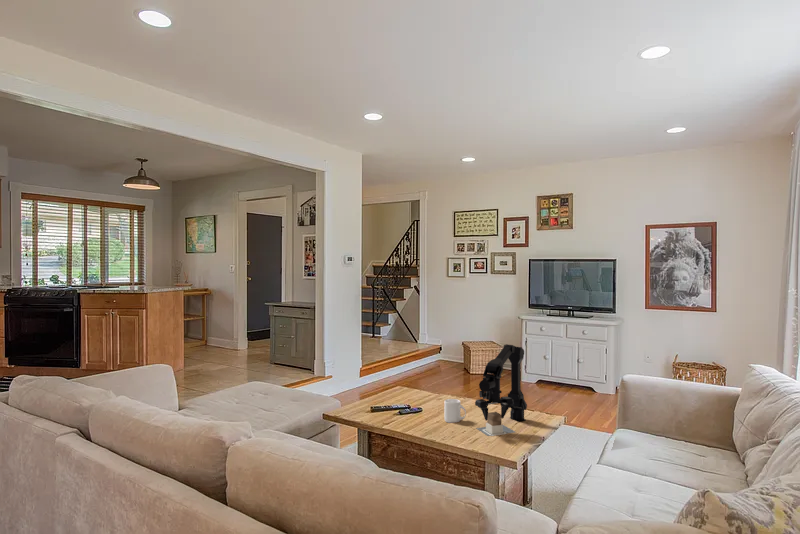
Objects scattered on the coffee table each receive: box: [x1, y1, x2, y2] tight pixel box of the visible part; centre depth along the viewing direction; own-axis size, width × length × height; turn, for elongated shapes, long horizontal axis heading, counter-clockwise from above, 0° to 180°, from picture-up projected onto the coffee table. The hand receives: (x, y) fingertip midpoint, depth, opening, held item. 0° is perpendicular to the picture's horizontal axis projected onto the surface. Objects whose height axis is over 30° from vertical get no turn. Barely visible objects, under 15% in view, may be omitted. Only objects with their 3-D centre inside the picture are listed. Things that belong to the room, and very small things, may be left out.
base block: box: [485, 422, 504, 435], centre depth 235 cm, size 6×6×4 cm
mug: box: [443, 398, 467, 424], centre depth 253 cm, size 9×12×11 cm
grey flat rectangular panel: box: [475, 424, 516, 437], centre depth 237 cm, size 16×12×1 cm
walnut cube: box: [486, 411, 502, 426], centre depth 235 cm, size 5×5×5 cm
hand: (494, 419), depth 235 cm, fingers open, 9 cm apart
